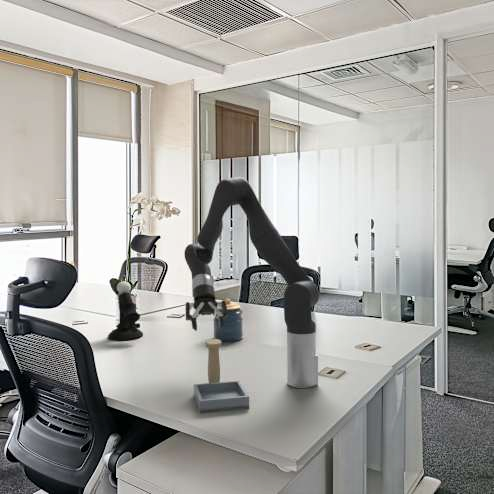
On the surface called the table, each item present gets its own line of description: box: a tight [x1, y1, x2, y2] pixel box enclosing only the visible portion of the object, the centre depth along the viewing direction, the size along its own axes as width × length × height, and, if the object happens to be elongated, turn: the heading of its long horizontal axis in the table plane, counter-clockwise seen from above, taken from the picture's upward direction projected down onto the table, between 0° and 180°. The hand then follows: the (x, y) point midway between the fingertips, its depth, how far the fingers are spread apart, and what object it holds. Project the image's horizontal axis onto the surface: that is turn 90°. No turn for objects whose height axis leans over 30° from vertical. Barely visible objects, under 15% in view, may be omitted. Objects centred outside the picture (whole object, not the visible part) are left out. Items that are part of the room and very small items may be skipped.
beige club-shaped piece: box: [205, 338, 222, 383], centre depth 161 cm, size 5×6×15 cm
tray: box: [193, 380, 250, 414], centre depth 149 cm, size 14×14×4 cm
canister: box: [213, 298, 244, 343], centre depth 223 cm, size 13×13×18 cm
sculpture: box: [107, 280, 144, 342], centre depth 224 cm, size 15×24×25 cm, turn 28°
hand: (208, 328), depth 170 cm, fingers open, 8 cm apart
